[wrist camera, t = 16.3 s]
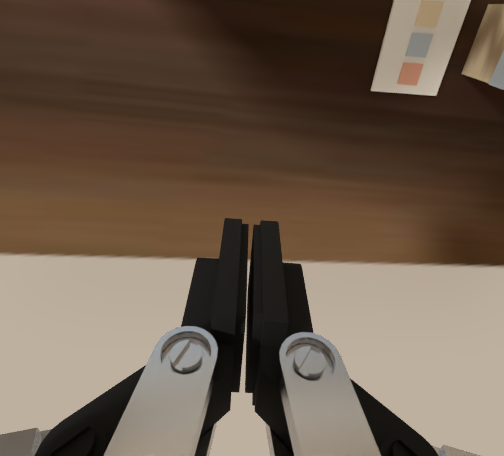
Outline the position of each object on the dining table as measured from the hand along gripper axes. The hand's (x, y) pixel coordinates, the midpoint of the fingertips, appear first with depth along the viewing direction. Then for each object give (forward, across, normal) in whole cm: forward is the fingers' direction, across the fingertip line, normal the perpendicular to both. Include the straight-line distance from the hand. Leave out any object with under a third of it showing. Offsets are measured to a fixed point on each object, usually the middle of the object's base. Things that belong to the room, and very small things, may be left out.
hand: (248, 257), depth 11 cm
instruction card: (+29, -16, -4) cm, 34 cm away
